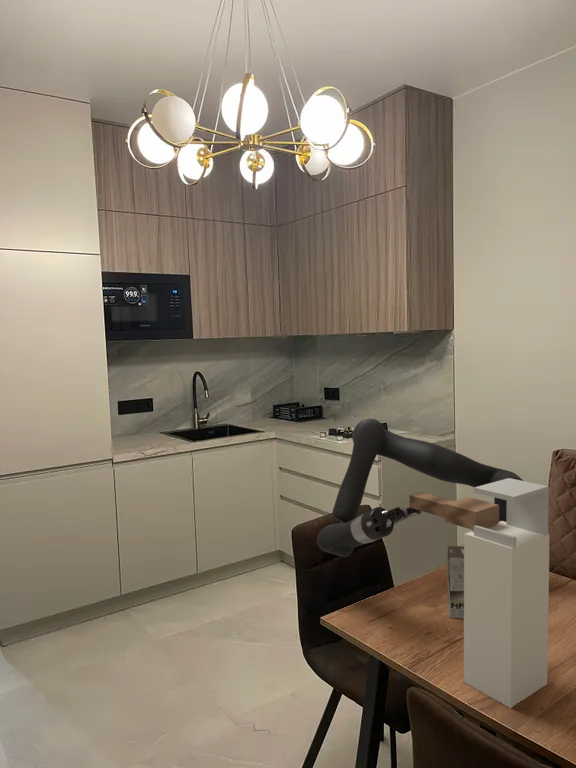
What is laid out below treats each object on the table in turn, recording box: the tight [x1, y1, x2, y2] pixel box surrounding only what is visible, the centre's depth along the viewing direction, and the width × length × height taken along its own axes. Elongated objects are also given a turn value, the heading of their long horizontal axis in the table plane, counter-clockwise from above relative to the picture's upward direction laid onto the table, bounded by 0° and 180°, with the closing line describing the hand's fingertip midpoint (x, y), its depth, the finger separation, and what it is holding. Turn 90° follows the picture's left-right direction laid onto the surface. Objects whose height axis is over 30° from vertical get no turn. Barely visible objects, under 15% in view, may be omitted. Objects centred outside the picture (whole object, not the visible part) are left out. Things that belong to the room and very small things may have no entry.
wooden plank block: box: [409, 491, 499, 531], centre depth 131 cm, size 20×8×4 cm, turn 36°
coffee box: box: [446, 545, 464, 620], centre depth 154 cm, size 9×6×16 cm
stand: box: [463, 478, 550, 709], centre depth 120 cm, size 11×13×42 cm
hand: (412, 507), depth 140 cm, fingers open, 8 cm apart
